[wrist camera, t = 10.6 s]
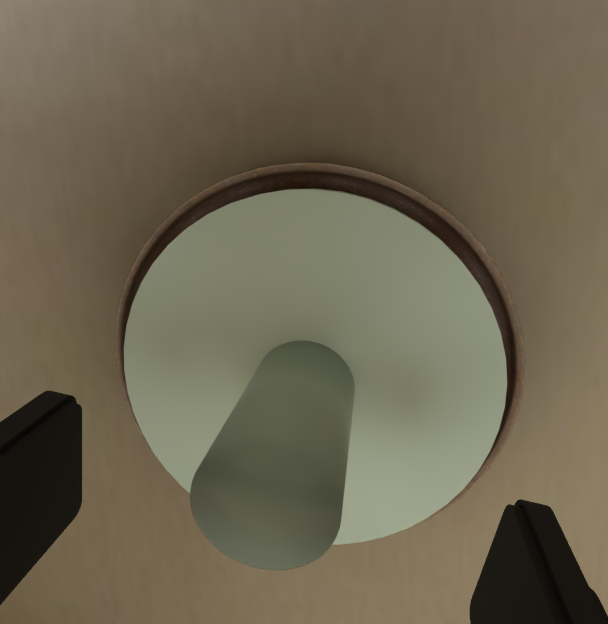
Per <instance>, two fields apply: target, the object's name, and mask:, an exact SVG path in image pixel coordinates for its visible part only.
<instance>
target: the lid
mask: <svg viewBox="0 0 608 624" xmlns="http://www.w3.org/2000/svg"><path fill="white" fill-rule="evenodd" d="M124 372H125V378H126V385H127V391H128V395H129V398H130V402H131V405H132V409H133V412H134V415H135V417H136V420H137V422H138V424H139V427H140V429H141V431H142V433H143V435H144V437H145V439H146V440H147V442H148V444H149V446H150V447H151V449H152V451H153V452H154V454H155V455H156V457H157V458H158V459H159V461H160V462H161V463H162V465H163V466H164V467H165V469H166V470H167V471H168V472H169V473H170V474H171V475H172V476H173V478H174V479H175V480H176V481H177V482H178V483H179V484H180V485H181V486H182V487H183V488H184V489H185V490H187V491H188V492H189V493H190V501H191V508H192V511H193V515H194V517H195V520H196V522H197V524H198V526H199V528H200V529H201V531H202V532H203V534H204V535H205V536H206V538H207V539H208V540H209V541H210V542H211V543H212V544H213V545H214V546H215V547H216V548H217V549H219V550H220V551H221V552H223V553H224V554H225V555H227V556H229V557H230V558H232V559H234V560H236V561H238V562H240V563H243V564H245V565H248V566H251V567H255V568H260V569H266V570H287V569H293V568H297V567H301V566H304V565H306V564H309V563H311V562H313V561H314V560H316V559H318V558H319V557H320V556H322V555H323V554H324V553H325V552H326V551H327V550H328V549H329V548H330V546H331V545H336V544H350V543H357V542H365V541H369V540H373V539H377V538H381V537H385V536H389V535H391V534H394V533H396V532H399V531H402V530H404V529H407V528H409V527H411V526H413V525H415V524H417V523H419V522H421V521H423V520H424V519H426V518H428V517H430V516H431V515H432V514H434V513H435V512H437V511H438V510H440V509H441V508H442V507H444V506H445V505H447V504H448V503H449V502H450V501H451V500H452V499H453V498H454V497H455V496H456V495H458V494H459V493H460V492H461V491H462V490H463V489H464V488H465V486H466V485H467V484H468V483H469V482H470V480H471V479H472V478H473V477H474V476H475V474H476V473H477V472H478V470H479V469H480V467H481V465H482V464H483V462H484V460H485V459H486V457H487V456H488V454H489V452H490V450H491V448H492V445H493V443H494V441H495V438H496V436H497V433H498V431H499V428H500V424H501V420H502V416H503V412H504V408H505V400H506V390H507V369H506V356H505V351H504V346H503V341H502V336H501V332H500V329H499V327H498V324H497V321H496V318H495V316H494V313H493V310H492V308H491V306H490V304H489V302H488V300H487V298H486V297H485V295H484V293H483V291H482V289H481V287H480V285H479V284H478V283H477V281H476V280H475V279H474V277H473V276H472V274H471V273H470V272H469V270H468V269H467V268H466V266H465V265H464V264H463V262H462V261H461V260H460V259H459V258H458V257H457V255H456V254H455V253H454V252H453V251H452V250H451V249H450V248H449V247H448V246H447V245H446V244H445V243H444V242H443V241H442V240H441V239H440V238H439V237H437V236H436V235H435V234H433V233H432V232H431V231H430V230H428V229H427V228H426V227H424V226H423V225H422V224H420V223H419V222H418V221H416V220H414V219H413V218H411V217H409V216H407V215H406V214H404V213H402V212H400V211H398V210H397V209H395V208H393V207H390V206H388V205H385V204H383V203H380V202H378V201H375V200H373V199H370V198H367V197H363V196H359V195H355V194H351V193H347V192H343V191H336V190H327V189H318V188H309V189H287V190H281V191H275V192H268V193H263V194H259V195H255V196H252V197H249V198H246V199H242V200H239V201H236V202H233V203H230V204H228V205H226V206H224V207H222V208H220V209H218V210H215V211H213V212H211V213H209V214H207V215H206V216H204V217H203V218H201V219H200V220H198V221H197V222H195V223H194V224H192V225H191V226H189V227H188V228H186V229H185V230H184V231H183V232H182V233H181V234H180V235H179V236H177V237H176V238H175V239H174V240H173V241H172V242H171V243H170V244H169V245H168V246H167V247H166V248H165V249H164V251H163V252H162V253H161V254H160V255H159V257H158V258H157V259H156V260H155V261H154V263H153V264H152V266H151V267H150V269H149V271H148V272H147V274H146V276H145V277H144V279H143V281H142V282H141V284H140V287H139V289H138V291H137V294H136V296H135V299H134V301H133V303H132V306H131V310H130V314H129V318H128V322H127V326H126V334H125V342H124Z"/></svg>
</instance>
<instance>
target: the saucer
mask: <svg viewBox="0 0 608 624" xmlns="http://www.w3.org/2000/svg"><path fill="white" fill-rule="evenodd" d="M309 188H318V189H327V190H336V191H343V192H347V193H351V194H355V195H359V196H363V197H367V198H370V199H373V200H375V201H378V202H380V203H383V204H385V205H388V206H390V207H393V208H395V209H397V210H398V211H400V212H402V213H404V214H406V215H407V216H409V217H411V218H413V219H414V220H416V221H418V222H419V223H420V224H422V225H423V226H424V227H426V228H427V229H428V230H430V231H431V232H432V233H433V234H435V235H436V236H437V237H439V238H440V239H441V240H442V241H443V242H444V243H445V244H446V245H447V246H448V247H449V248H450V249H451V250H452V251H453V252H454V253H455V254H456V255H457V257H458V258H459V259H460V260H461V261H462V262H463V264H464V265H465V266H466V268H467V269H468V270H469V272H470V273H471V274H472V276H473V277H474V279H475V280H476V281H477V283H478V284H479V285H480V287H481V289H482V291H483V293H484V295H485V297H486V298H487V300H488V302H489V304H490V306H491V308H492V310H493V313H494V316H495V318H496V321H497V324H498V327H499V329H500V332H501V336H502V341H503V346H504V351H505V356H506V369H507V390H506V400H505V408H504V412H503V416H502V420H501V424H500V428H499V431H498V433H497V436H496V438H495V441H494V443H493V445H492V448H491V450H490V452H489V454H488V456H487V457H486V459H485V460H484V462H483V464H482V465H481V467H480V469H479V470H478V472H477V473H476V474H475V476H474V477H473V478H472V479H471V480H470V482H469V483H468V484H467V485H466V486H465V488H464V489H463V490H462V491H461V492H460V493H459V494H458V495H456V496H455V497H454V498H453V499H452V500H451V501H450V502H449V503H448V504H447V505H445V506H444V507H442V508H441V509H440V510H438V511H437V512H435V513H434V514H432V515H431V516H430V517H428V518H426V519H424V520H423V521H425V520H427V519H429V518H431V517H433V516H435V515H436V514H438V513H440V512H441V511H443V510H444V509H446V508H447V507H449V506H450V505H452V504H453V503H455V502H456V501H457V500H459V499H460V498H461V497H462V496H463V495H464V494H465V493H467V492H468V491H469V490H470V489H471V488H472V487H473V486H474V485H475V484H476V483H477V482H478V480H479V479H480V478H481V477H482V476H483V475H484V473H485V472H486V471H487V470H488V469H489V468H490V466H491V464H492V463H493V462H494V460H495V459H496V457H497V456H498V454H499V452H500V451H501V449H502V448H503V446H504V444H505V442H506V440H507V438H508V436H509V434H510V432H511V430H512V427H513V425H514V422H515V419H516V416H517V413H518V410H519V405H520V401H521V397H522V390H523V382H524V347H523V337H522V331H521V327H520V322H519V318H518V314H517V311H516V308H515V305H514V302H513V300H512V297H511V295H510V293H509V290H508V287H507V285H506V283H505V281H504V279H503V277H502V275H501V273H500V271H499V270H498V268H497V266H496V265H495V263H494V261H493V260H492V258H491V257H490V255H489V254H488V252H487V251H486V250H485V249H484V247H483V246H482V244H481V243H480V242H479V241H478V240H477V239H476V238H475V237H474V235H473V234H472V233H471V232H470V231H469V230H468V229H467V228H466V227H465V226H464V225H463V224H462V223H461V222H459V221H458V220H457V219H456V218H455V217H454V216H453V215H451V214H450V213H449V212H448V211H446V210H445V209H443V208H442V207H441V206H439V205H438V204H436V203H435V202H433V201H432V200H430V199H429V198H427V197H425V196H424V195H422V194H420V193H419V192H417V191H415V190H414V189H411V188H409V187H407V186H405V185H403V184H401V183H399V182H397V181H394V180H392V179H390V178H387V177H385V176H382V175H379V174H376V173H372V172H370V171H365V170H362V169H358V168H353V167H347V166H342V165H337V164H329V163H290V164H281V165H271V166H266V167H262V168H257V169H253V170H250V171H247V172H244V173H241V174H237V175H235V176H232V177H229V178H226V179H224V180H222V181H220V182H218V183H216V184H214V185H212V186H210V187H208V188H206V189H204V190H203V191H201V192H199V193H198V194H196V195H194V196H193V197H191V198H190V199H189V200H187V201H186V202H185V203H184V204H182V205H181V206H180V207H179V208H177V209H176V210H175V211H174V212H173V213H172V214H171V215H170V216H169V217H168V218H167V219H166V220H164V221H163V222H162V224H161V225H160V226H159V227H158V228H157V230H156V231H155V232H154V233H153V234H152V236H151V237H150V238H149V240H148V241H147V242H146V244H145V245H144V247H143V248H142V250H141V252H140V253H139V255H138V257H137V259H136V260H135V262H134V264H133V266H132V269H131V271H130V273H129V275H128V278H127V280H126V283H125V286H124V289H123V293H122V296H121V300H120V304H119V308H118V314H117V322H116V347H115V348H116V362H117V369H118V374H119V380H120V384H121V388H122V391H123V395H124V398H125V401H126V405H127V407H128V409H129V412H130V414H131V416H132V418H133V421H134V423H135V425H136V427H137V429H138V431H139V433H140V434H141V436H142V437H143V439H144V440H145V442H146V443H147V445H148V447H149V448H150V449H151V447H150V446H149V444H148V442H147V440H146V439H145V437H144V435H143V433H142V431H141V429H140V427H139V424H138V422H137V420H136V417H135V415H134V412H133V409H132V405H131V402H130V398H129V395H128V391H127V385H126V378H125V372H124V342H125V334H126V326H127V322H128V318H129V314H130V310H131V306H132V303H133V301H134V299H135V296H136V294H137V291H138V289H139V287H140V284H141V282H142V281H143V279H144V277H145V276H146V274H147V272H148V271H149V269H150V267H151V266H152V264H153V263H154V261H155V260H156V259H157V258H158V257H159V255H160V254H161V253H162V252H163V251H164V249H165V248H166V247H167V246H168V245H169V244H170V243H171V242H172V241H173V240H174V239H175V238H176V237H177V236H179V235H180V234H181V233H182V232H183V231H184V230H185V229H186V228H188V227H189V226H191V225H192V224H194V223H195V222H197V221H198V220H200V219H201V218H203V217H204V216H206V215H207V214H209V213H211V212H213V211H215V210H218V209H220V208H222V207H224V206H226V205H228V204H230V203H233V202H236V201H239V200H242V199H246V198H249V197H252V196H255V195H259V194H263V193H268V192H275V191H281V190H287V189H309ZM151 450H152V449H151ZM152 452H153V451H152ZM153 453H154V452H153ZM154 455H155V454H154ZM155 456H156V455H155ZM157 459H158V458H157ZM158 460H159V459H158ZM423 521H421V522H423ZM421 522H419V523H421ZM419 523H417V524H419ZM417 524H415V525H417ZM415 525H413V526H415ZM411 527H412V526H411ZM404 530H405V529H404Z"/></svg>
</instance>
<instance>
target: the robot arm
mask: <svg viewBox="0 0 608 624" xmlns="http://www.w3.org/2000/svg"><path fill="white" fill-rule="evenodd" d="M81 503H82V408H81V406H80V405H79V404H77V402H76V399H75V397H73V396H71V395H66V394H62V393H58V392H53V391H45V392H43V393H42V394H40V395H39V396H37V397H36V398H34V399H33V400H32V401H30V402H29V403H27V404H26V405H24V406H23V407H22V408H20V409H19V410H17V411H16V412H14V413H13V414H11V415H10V416H9V417H7V418H6V419H4V420H3V421H1V422H0V605H1V604H2V602H3V601H4V600H5V599H6V598H7V597H8V595H9V594H10V593H11V592H12V591H13V590H14V588H15V587H16V586H17V585H18V584H19V583H20V581H21V580H22V579H23V578H24V577H25V576H26V574H27V573H28V572H29V571H30V570H31V568H32V567H33V566H34V565H35V564H36V563H37V561H38V560H39V559H40V558H41V557H42V556H43V554H44V553H45V552H46V551H47V550H48V549H49V547H50V546H51V545H52V544H53V543H54V542H55V540H56V539H57V538H58V537H59V536H60V535H61V533H62V532H63V531H64V530H65V529H66V528H67V526H68V525H69V524H70V523H71V522H72V520H73V519H74V518H75V517H76V515H77V513H78V512H79V509H80V507H81ZM470 622H471V624H608V616H607V614H606V612H605V610H604V608H603V606H602V604H601V602H600V600H599V598H598V596H597V595H596V593H595V592H594V591H593V590H592V589H591V588H590V587H589V586H588V584H587V582H586V580H585V578H584V575H583V573H582V571H581V569H580V567H579V565H578V563H577V561H576V559H575V557H574V554H573V552H572V550H571V548H570V546H569V544H568V542H567V540H566V538H565V536H564V533H563V531H562V529H561V527H560V525H559V523H558V521H557V519H556V517H555V515H554V512H553V511H552V509H551V508H550V507H549V506H547V505H542V504H538V503H534V502H529V501H525V500H518V501H517V502H516V503H515V505H510V504H509V505H507V506H506V508H505V510H504V512H503V515H502V518H501V520H500V523H499V526H498V529H497V531H496V534H495V537H494V539H493V542H492V545H491V548H490V550H489V553H488V556H487V558H486V561H485V564H484V566H483V569H482V572H481V575H480V577H479V580H478V583H477V585H476V588H475V591H474V594H473V596H472V599H471V604H470Z"/></svg>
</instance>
